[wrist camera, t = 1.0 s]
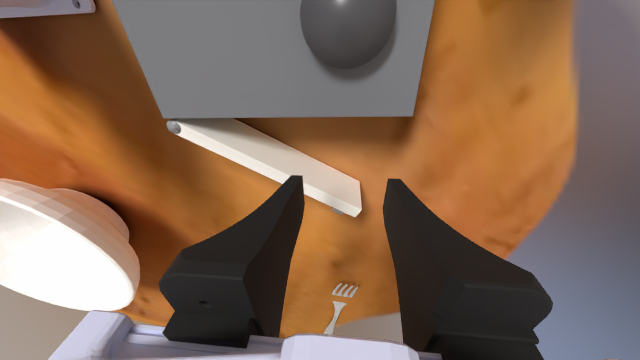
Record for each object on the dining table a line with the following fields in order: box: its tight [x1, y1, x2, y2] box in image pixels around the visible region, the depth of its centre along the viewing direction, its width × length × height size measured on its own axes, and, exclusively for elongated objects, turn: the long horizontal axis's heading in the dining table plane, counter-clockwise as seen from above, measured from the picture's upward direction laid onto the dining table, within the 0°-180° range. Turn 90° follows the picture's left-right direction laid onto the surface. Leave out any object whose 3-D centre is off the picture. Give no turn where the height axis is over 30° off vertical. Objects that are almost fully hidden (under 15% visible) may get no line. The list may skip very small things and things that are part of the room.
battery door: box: [167, 118, 362, 217], centre depth 19 cm, size 16×2×4 cm, turn 62°
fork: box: [323, 283, 358, 335], centre depth 38 cm, size 3×24×2 cm, turn 172°
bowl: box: [0, 178, 140, 311], centre depth 26 cm, size 20×20×7 cm
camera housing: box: [112, 0, 435, 118], centre depth 13 cm, size 16×10×5 cm, turn 92°
